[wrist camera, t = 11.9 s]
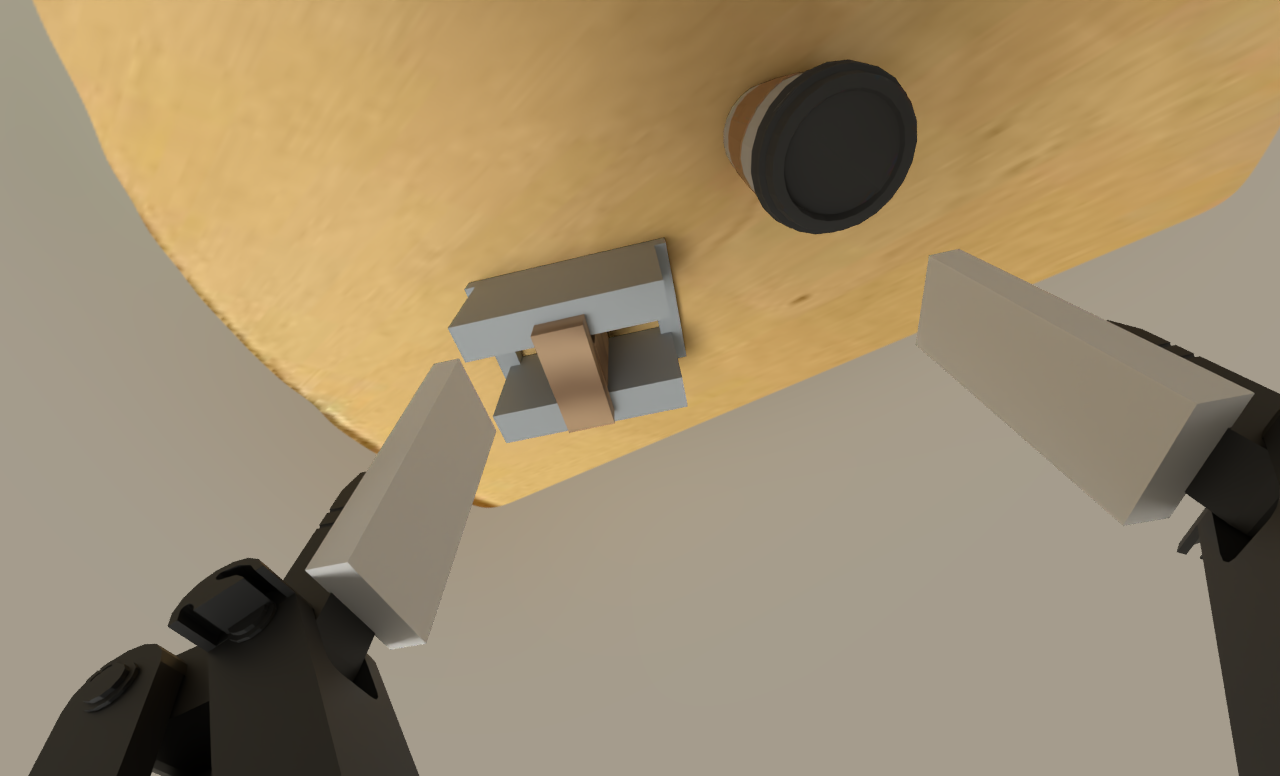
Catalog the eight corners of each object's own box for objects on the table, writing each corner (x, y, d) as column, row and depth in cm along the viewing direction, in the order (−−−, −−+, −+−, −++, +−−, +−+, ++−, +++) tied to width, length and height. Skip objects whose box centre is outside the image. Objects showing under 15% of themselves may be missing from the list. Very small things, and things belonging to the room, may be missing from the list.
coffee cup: (767, 208, 39) (841, 269, 26) (688, 151, 36) (728, 188, 24) (838, 111, 35) (963, 128, 23) (756, 38, 32) (847, 12, 20)
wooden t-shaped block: (545, 285, 40) (529, 337, 32) (589, 274, 40) (584, 324, 31) (575, 369, 45) (567, 432, 37) (614, 360, 45) (615, 423, 37)
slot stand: (468, 283, 41) (434, 331, 33) (664, 237, 40) (676, 276, 32) (514, 384, 47) (495, 445, 39) (684, 348, 46) (699, 404, 38)
